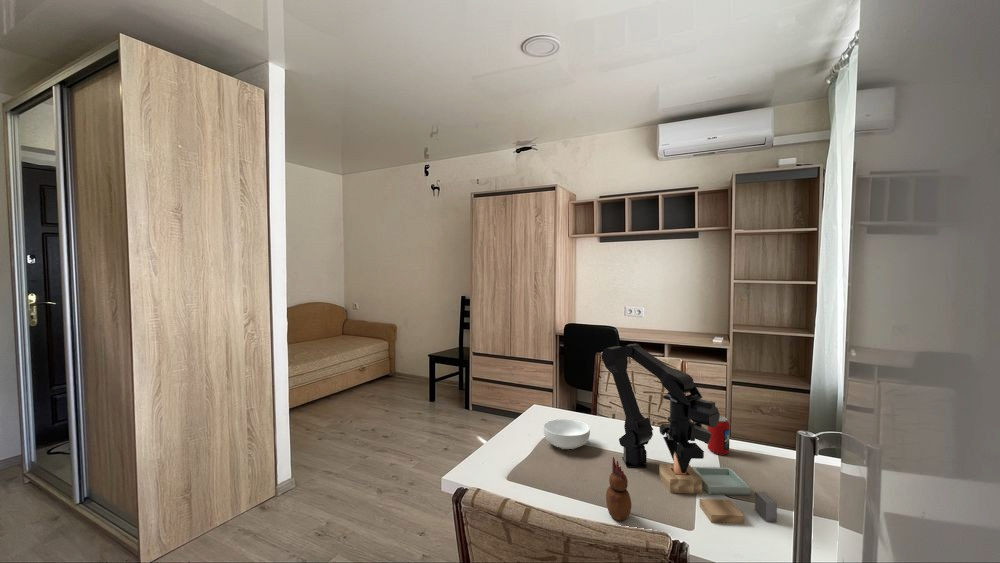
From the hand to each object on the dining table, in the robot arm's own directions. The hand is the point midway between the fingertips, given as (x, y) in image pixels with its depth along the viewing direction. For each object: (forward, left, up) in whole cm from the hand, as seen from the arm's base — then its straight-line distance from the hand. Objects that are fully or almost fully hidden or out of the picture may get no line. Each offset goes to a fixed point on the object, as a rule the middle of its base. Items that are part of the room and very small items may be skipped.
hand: (679, 468), depth 119 cm
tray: (+12, +1, -5) cm, 13 cm away
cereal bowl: (-31, +26, -5) cm, 41 cm away
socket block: (0, 0, -5) cm, 5 cm away
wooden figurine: (-22, -17, -5) cm, 28 cm away
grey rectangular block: (+16, -15, -5) cm, 22 cm away
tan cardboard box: (+5, -15, -6) cm, 16 cm away
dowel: (0, 0, -5) cm, 5 cm away
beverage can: (+22, +23, -5) cm, 32 cm away
